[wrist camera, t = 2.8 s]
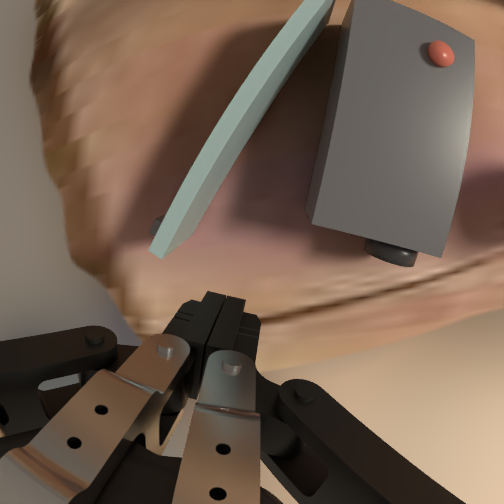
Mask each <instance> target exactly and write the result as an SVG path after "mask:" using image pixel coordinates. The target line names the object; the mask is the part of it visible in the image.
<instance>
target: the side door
mask: <svg viewBox="0 0 504 504" xmlns="http://www.w3.org/2000/svg"><path fill="white" fill-rule="evenodd" d="M334 4H335V0H304V2H303V3H302V4H301V5H300V7H299V8H298V9H297V10H296V11H295V13H294V14H293V15H292V17H291V18H290V19H289V20H288V22H287V23H286V24H285V26H284V27H283V28H282V29H281V31H280V32H279V33H278V35H277V36H276V37H275V39H274V40H273V41H272V43H271V44H270V46H269V47H268V48H267V50H266V51H265V52H264V54H263V55H262V57H261V58H260V59H259V61H258V62H257V64H256V65H255V67H254V68H253V69H252V71H251V72H250V74H249V75H248V77H247V78H246V80H245V81H244V83H243V84H242V86H241V87H240V89H239V90H238V92H237V93H236V95H235V96H234V98H233V99H232V101H231V102H230V104H229V106H228V107H227V109H226V110H225V112H224V113H223V115H222V117H221V118H220V120H219V121H218V123H217V125H216V126H215V128H214V130H213V131H212V133H211V135H210V136H209V138H208V140H207V141H206V143H205V145H204V146H203V148H202V150H201V151H200V153H199V155H198V157H197V158H196V160H195V162H194V164H193V165H192V167H191V169H190V171H189V173H188V174H187V176H186V178H185V180H184V182H183V183H182V185H181V187H180V189H179V191H178V193H177V195H176V196H175V198H174V200H173V202H172V204H171V206H170V208H169V210H168V212H167V214H166V215H163V216H161V217H159V218H157V219H156V220H155V222H154V224H153V226H152V228H151V230H150V233H151V234H153V235H154V236H155V238H154V240H153V242H152V244H151V246H150V248H149V250H148V251H150V252H151V253H153V254H154V255H156V256H157V257H159V258H160V259H163V258H164V257H165V256H167V255H168V254H169V253H170V252H172V251H173V250H174V249H175V248H177V247H178V246H179V245H180V244H182V243H183V242H184V241H185V240H187V239H188V238H189V237H190V236H192V235H193V233H194V231H195V229H196V228H197V226H198V224H199V222H200V220H201V219H202V217H203V215H204V213H205V212H206V210H207V208H208V206H209V205H210V203H211V201H212V199H213V198H214V196H215V194H216V193H217V191H218V189H219V187H220V186H221V184H222V182H223V181H224V179H225V177H226V176H227V174H228V172H229V171H230V169H231V167H232V166H233V164H234V162H235V161H236V159H237V158H238V156H239V154H240V153H241V151H242V149H243V148H244V146H245V145H246V143H247V141H248V140H249V138H250V137H251V135H252V133H253V132H254V130H255V129H256V127H257V126H258V124H259V122H260V121H261V119H262V118H263V116H264V115H265V113H266V112H267V110H268V109H269V107H270V106H271V104H272V102H273V101H274V99H275V98H276V96H277V95H278V93H279V92H280V90H281V89H282V87H283V86H284V85H285V83H286V82H287V80H288V79H289V77H290V76H291V74H292V73H293V71H294V70H295V69H296V67H297V66H298V64H299V63H300V61H301V60H302V59H303V57H304V56H305V54H306V53H307V51H308V50H309V49H310V47H311V46H312V45H313V43H314V42H315V40H316V39H317V38H318V36H319V35H320V34H321V32H322V31H323V29H324V28H325V26H326V25H327V24H328V23H329V20H330V16H331V13H332V10H333V7H334Z"/></svg>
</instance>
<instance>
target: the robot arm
mask: <svg viewBox="0 0 504 504" xmlns="http://www.w3.org/2000/svg"><path fill="white" fill-rule="evenodd" d="M245 302H246V300H244V299H240V298H236V297H231V296H227V298H226V295H222V294H218V293H214V292H210V291H207V293H206V295H205V296H204V298H203V300H202V301H201V302H199V301H195V300H190V301H188V302H186V303H184V304H182V306H181V307H180V308H179V310H178V312H177V313H176V314H175V316H174V318H172V320H171V321H170V323H169V324H168V326H167V327H166V329H165V330H164V331H163V333H162V334H155V335H152V336H150V337H148V338H147V339H146V340H145V341H144V342H143V343H142V344H141V345H140V346H129V345H120V344H117V337H116V335H115V334H114V332H112V331H111V330H109V329H107V328H105V327H101V326H86V327H80V328H75V329H70V330H65V331H59V332H54V333H48V334H42V335H36V336H30V337H24V338H19V339H12V340H6V341H0V504H283V503H282V502H281V501H280V500H279V499H278V498H277V497H275V496H274V495H273V494H271V493H270V492H269V491H267V490H266V489H264V488H262V487H261V486H260V459H261V460H262V461H263V463H264V464H265V465H266V466H267V468H268V469H269V470H270V471H271V472H272V474H273V475H274V476H275V477H276V478H277V480H278V481H279V482H280V483H281V484H282V485H283V486H284V488H285V489H286V490H287V491H288V492H289V493H290V494H291V495H292V497H293V498H294V499H295V500H296V501H297V502H298V503H299V504H466V503H464V502H463V501H462V500H460V499H459V498H457V497H456V496H455V495H453V494H452V493H450V492H449V491H448V490H446V489H445V488H444V487H442V486H441V485H440V484H438V483H437V482H435V481H434V480H433V479H431V478H430V477H429V476H428V475H426V474H425V473H424V472H422V471H421V470H420V469H418V468H417V467H416V466H414V465H413V464H412V463H410V462H409V461H408V460H407V459H406V458H404V457H403V456H402V455H401V454H399V453H398V452H397V451H395V450H394V449H393V448H392V447H391V446H389V445H388V444H387V443H386V442H384V441H383V440H382V439H381V438H380V437H378V436H377V435H376V434H375V433H373V432H372V431H371V430H370V429H369V428H367V427H366V426H365V425H364V424H363V423H362V422H360V421H359V420H358V419H357V418H356V417H354V416H353V415H352V414H351V413H349V412H348V411H347V410H346V409H345V408H344V407H343V406H342V405H340V404H339V403H338V402H337V401H336V400H335V399H334V398H332V397H331V396H330V395H329V394H328V393H327V392H326V391H324V390H323V389H322V388H321V387H320V386H318V385H317V384H315V383H313V382H310V381H307V380H303V379H292V380H288V381H286V382H284V383H283V384H282V385H281V386H280V385H277V384H275V383H273V382H270V381H269V380H267V379H265V378H264V377H263V376H262V375H261V374H260V373H259V372H258V371H257V369H256V365H255V360H256V354H257V347H258V340H259V333H260V326H261V322H260V320H259V318H258V317H257V315H254V314H250V313H245V312H243V311H244V307H245ZM77 373H78V378H79V383H76V384H72V385H68V386H64V387H60V388H56V389H51V390H46V391H42V390H39V389H38V386H39V384H40V383H42V382H43V381H46V380H50V379H55V378H59V377H64V376H68V375H72V374H77ZM199 391H200V393H199ZM198 394H199V398H198V402H197V403H196V404H195V407H194V411H193V415H192V419H191V423H190V427H189V432H188V436H187V440H186V444H185V449H184V453H183V457H182V458H179V457H168V456H162V454H163V452H164V450H165V448H166V446H167V444H168V442H169V440H170V438H171V436H172V435H173V433H174V431H175V429H176V427H177V425H178V423H179V421H180V419H181V417H182V415H183V411H184V407H185V405H186V403H187V400H188V398H193V399H197V397H198Z"/></svg>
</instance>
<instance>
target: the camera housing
mask: <svg viewBox="0 0 504 504" xmlns="http://www.w3.org/2000/svg"><path fill="white" fill-rule="evenodd" d="M474 72H475V44H474V40H473V39H471V38H469V37H468V36H466V35H464V34H462V33H461V32H459V31H457V30H455V29H453V28H451V27H449V26H448V25H446V24H444V23H442V22H440V21H438V20H435V19H433V18H431V17H429V16H427V15H425V14H423V13H420V12H418V11H416V10H413V9H411V8H409V7H406V6H404V5H401V4H398V3H396V2H393V1H391V0H351V3H350V5H349V8H348V10H347V12H346V15H345V17H344V20H343V22H342V24H341V30H340V36H339V42H338V48H337V54H336V60H335V65H334V71H333V77H332V82H331V87H330V93H329V98H328V103H327V108H326V113H325V118H324V123H323V128H322V133H321V138H320V142H319V147H318V152H317V156H316V161H315V166H314V170H313V175H312V179H311V183H310V188H309V192H308V197H307V201H306V205H305V211H306V214H307V216H308V218H309V220H310V222H311V224H313V225H317V226H321V227H325V228H329V229H334V230H338V231H342V232H346V233H350V234H354V235H358V236H362V237H366V241H365V244H364V247H363V250H364V251H365V252H367V253H368V254H370V255H372V256H374V257H376V258H378V259H380V260H383V261H386V262H389V263H392V264H395V265H399V266H404V267H413V266H414V264H415V261H416V258H417V255H418V252H422V253H425V254H429V255H432V256H436V257H439V258H441V256H442V253H443V250H444V247H445V244H446V240H447V237H448V234H449V230H450V227H451V223H452V219H453V215H454V212H455V208H456V204H457V199H458V195H459V191H460V186H461V181H462V177H463V171H464V166H465V161H466V155H467V148H468V142H469V135H470V127H471V118H472V107H473V94H474Z"/></svg>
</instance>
